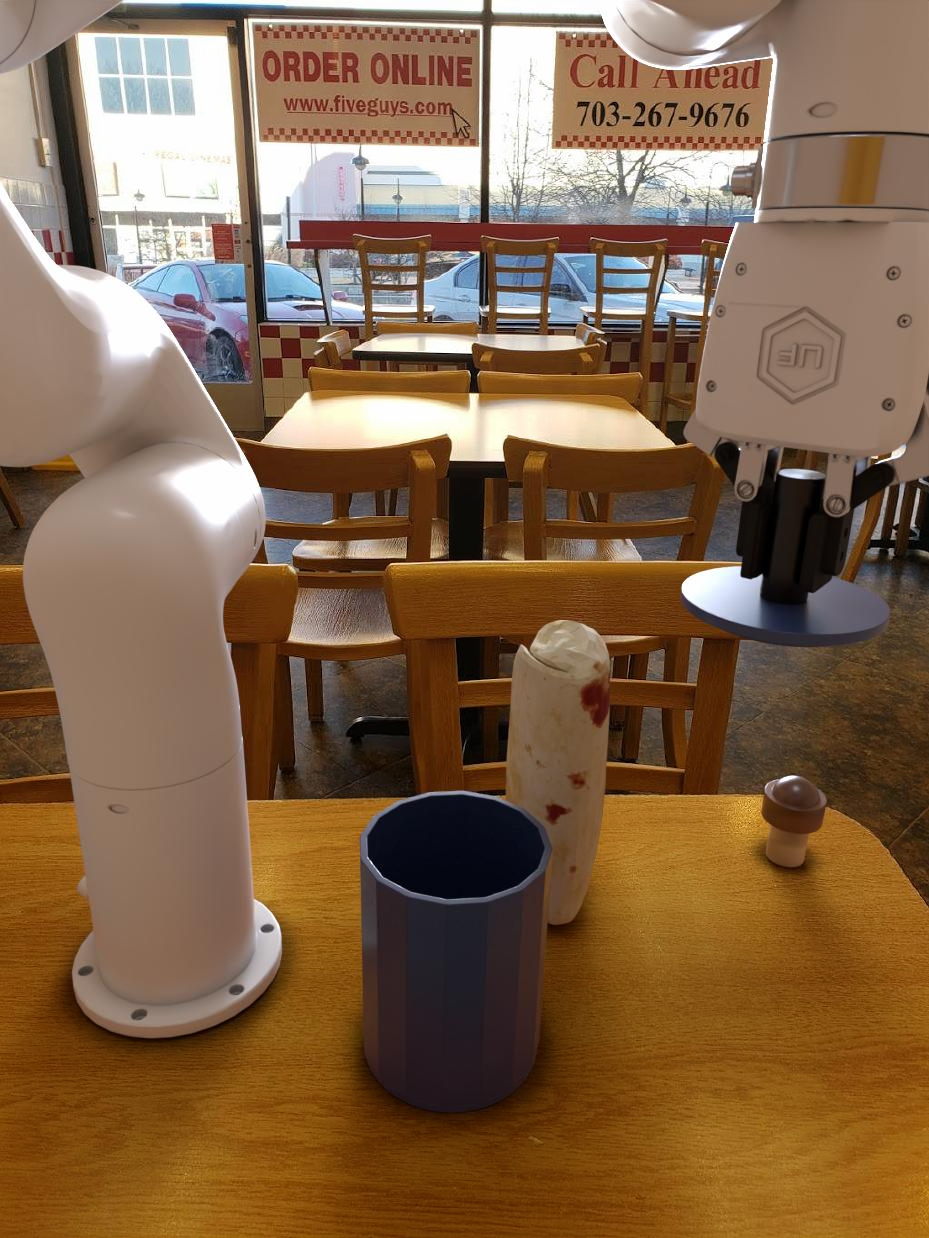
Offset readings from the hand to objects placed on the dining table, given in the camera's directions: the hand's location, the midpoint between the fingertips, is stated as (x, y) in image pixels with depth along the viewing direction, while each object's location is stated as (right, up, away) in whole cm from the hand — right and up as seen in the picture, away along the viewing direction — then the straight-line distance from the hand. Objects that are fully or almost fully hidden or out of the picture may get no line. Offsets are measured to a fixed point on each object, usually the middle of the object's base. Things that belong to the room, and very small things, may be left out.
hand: (786, 576), depth 49 cm
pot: (-17, -27, +6) cm, 32 cm away
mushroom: (+8, -20, +23) cm, 32 cm away
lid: (0, -2, +1) cm, 2 cm away
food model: (-11, -22, +18) cm, 31 cm away
